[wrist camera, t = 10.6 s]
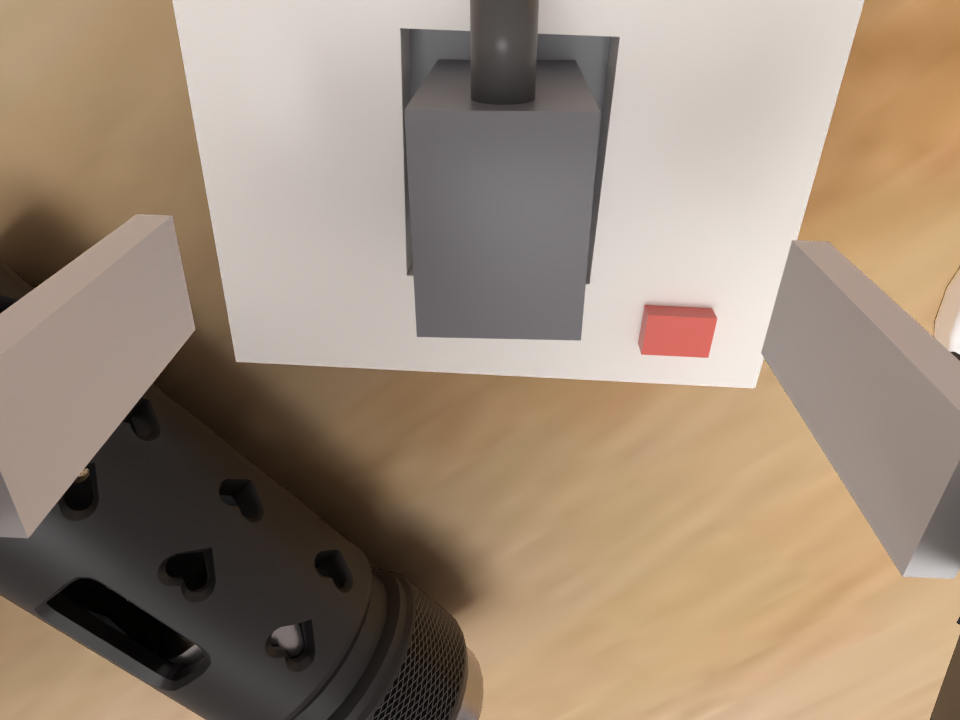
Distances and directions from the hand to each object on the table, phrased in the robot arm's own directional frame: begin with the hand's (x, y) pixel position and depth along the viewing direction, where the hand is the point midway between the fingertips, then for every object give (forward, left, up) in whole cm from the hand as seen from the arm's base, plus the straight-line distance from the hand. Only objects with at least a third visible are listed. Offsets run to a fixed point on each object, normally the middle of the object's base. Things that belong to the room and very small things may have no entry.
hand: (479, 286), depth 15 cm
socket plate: (0, 0, -11) cm, 11 cm away
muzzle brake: (-12, -16, -12) cm, 23 cm away
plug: (0, +1, -11) cm, 11 cm away
